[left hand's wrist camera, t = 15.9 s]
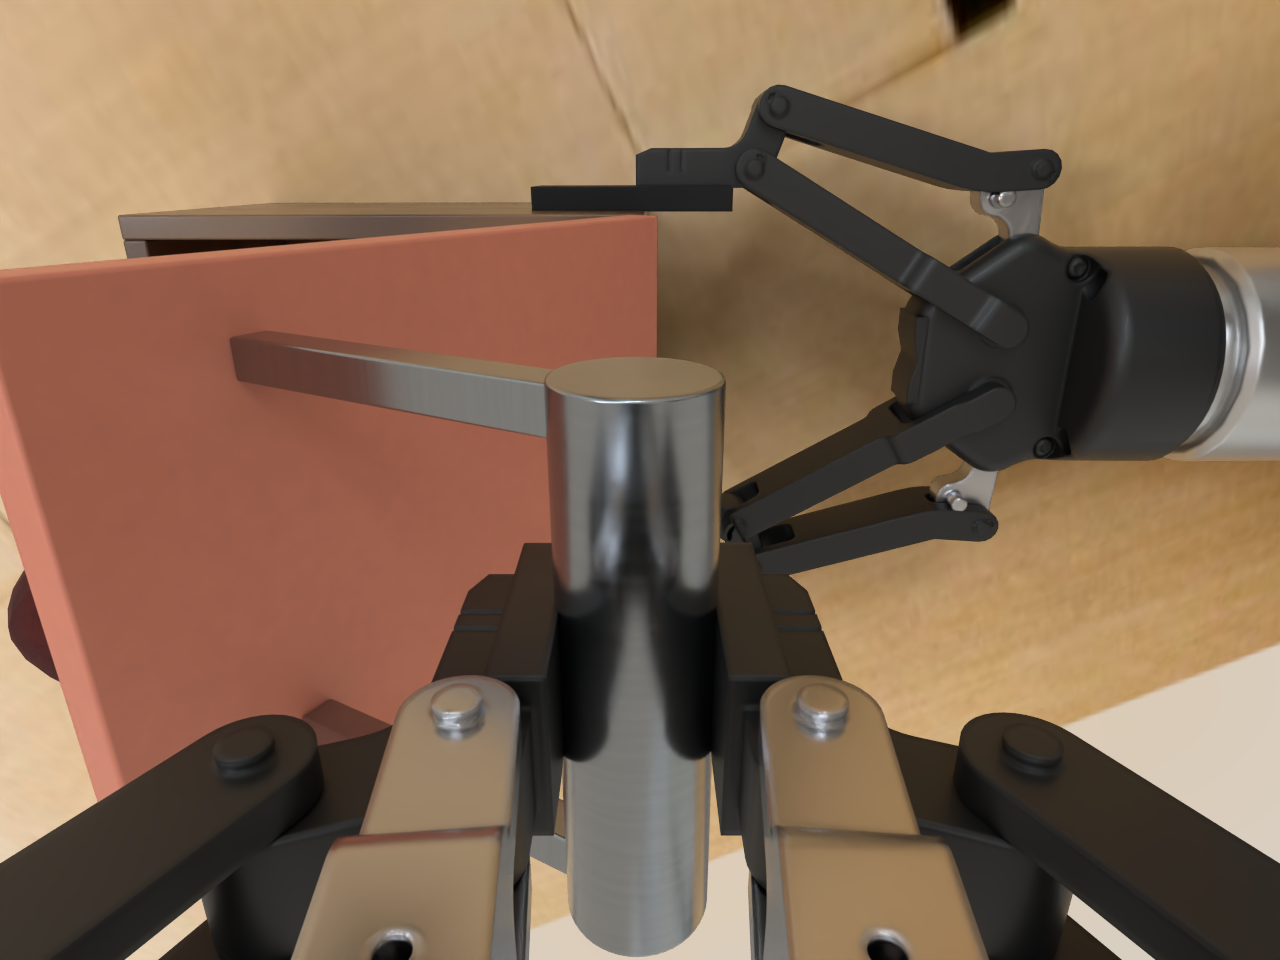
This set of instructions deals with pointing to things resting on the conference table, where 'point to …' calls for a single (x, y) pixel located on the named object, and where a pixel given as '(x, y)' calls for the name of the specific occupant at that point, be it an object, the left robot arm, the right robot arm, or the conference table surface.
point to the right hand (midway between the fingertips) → (544, 354)
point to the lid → (381, 510)
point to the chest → (317, 223)
